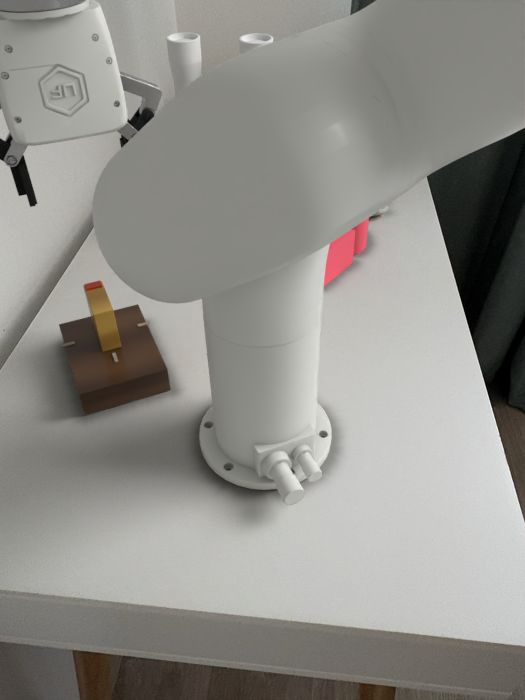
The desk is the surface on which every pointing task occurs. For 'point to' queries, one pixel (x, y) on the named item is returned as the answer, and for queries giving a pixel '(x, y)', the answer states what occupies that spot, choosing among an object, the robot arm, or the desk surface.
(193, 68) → the binoculars
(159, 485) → the desk surface
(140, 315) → the plate
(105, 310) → the handle
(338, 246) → the letters
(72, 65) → the robot arm
